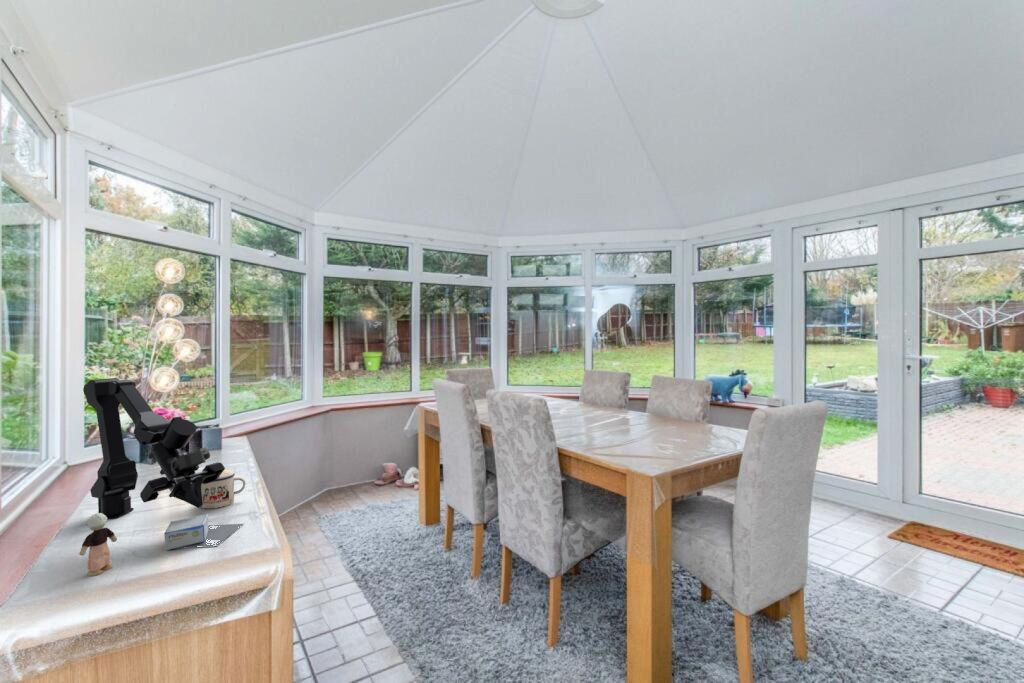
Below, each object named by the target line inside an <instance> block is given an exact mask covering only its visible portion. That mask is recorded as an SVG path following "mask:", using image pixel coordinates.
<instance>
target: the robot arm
mask: <svg viewBox="0 0 1024 683" xmlns="http://www.w3.org/2000/svg"><path fill="white" fill-rule="evenodd" d="M136 384H137V383H136V382H135V381H134V380H133V379H132V380H131V379H123V380H120V379H119V378H117V377H113V378H112V377H110V378H109V377H108V378H98V379H97V378H96V379H90V380H88V381H87V383H86V384H84V385H83V389H82V390H83V394H84V396H85V399H86V402H87V403H88V404H89V406H90V407H91V408H92V409H93V410H95V412H96V417H97V425H98V432H99V439H100V446H101V452H102V459H103V460H102V463H101V464H100V467H99V468H98V470H97V471H96V472H97V479H96V480H95V482H94V483H93V485H92V486H91V488H90V490H89V491H90V495H91V498H96V499H97V500H98V501H97V504H98V506H97V509H98V513H102V514H104V515H105V516H106V517H107V519H116V518H120V517H122V516H124V515H126V514H128V513H129V512H132V511H133V510H134V509H135V508H134V507H132V497H131V495H130V491H134V490H136V486H137V481H138V477H139V474H138V470H137V464H136V461H135V460H134V459H132V460H131V459H130V458H129V457H128V456H127V455H126V449H125V443H124V437H123V436H124V435H123V429H122V424H121V423H122V422H121V417H120V409H119V406H120V405H121V406H122V408H123V410H124V411H125V412H126V414H127V415H128V416H129V418H130V419H131V421H132V422H133V424H134V427H133V434H134V436H135V439H136V440H137V442H138V444H140V445H142V446H151V445H154V446H153V447H152V448H150V452H149V453H148V459H149V460H153V459H155V461H156V462H157V463H158V466H159V467H160V468H161V469H160V471H159V474H160V475H161V476H162V477H158V478H157V477H156V478H154V479H150V480H147V481H148V482H147V483H146V484H145V485H144V487H143V489H141V491H140V494H139V495H140V496H139V497H140V499H141V500H142V502H143V503H148V502H152V501H155V500H157V498H158V497H159V495H160V494H159V492H162V491H166V490H169V491H170V493H169V495H168V497H169V498H175V499H179V500H180V501H183V502H185V503H187V504H190V505H191V506H194V507H196V508H198V509H199V508H202V507H201V506H202V505H203V502H202V492H201V484H202V483H203V484H208V483H211V482H214V481H216V480H217V479H218V477H219V476H220V475H221V473H222V472H223V471H224V469H226V468H225V466H224V464H223V463H222V462H219V461H217V462H214V463H209V464H206V465H205V467H204V468H203V469H202V471H199V472H196V471H198V470H199V468H200V465H201V464H204V463H206V461H207V460H209V459H210V458H211V454H210V451H209V450H208V449H207V447H201V448H199V449H197V450H195V451H194V452H190V453H186V454H184V452H183V450H182V448H185V447H186V446H187V445H188V443H189V441H190V440H191V438H193V436H194V434H195V433H196V431H197V425H196V424H195V423H194V422H192V421H190V420H188V419H185V418H184V419H183V418H182V416H174V417H172V418H171V420H170V421H169V420H168V419H167V418H166V417H165V416H163V415H160V414H158V413H156V412H154V410H153V409H152V408H151V406H150V405H149V404H148V402H147V401H146V399H145V398H144V397H143V395H142V394H141V392H140V391H139V390H138V389H137V385H136ZM164 475H165V476H164Z"/></svg>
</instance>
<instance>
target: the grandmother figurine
mask: <svg viewBox="0 0 1024 683" xmlns="http://www.w3.org/2000/svg"><path fill="white" fill-rule="evenodd" d="M107 522H108V518H107V517H106V516H105V515H104V514H102V513H94V514H92V515H91V516H89V517H88V518H87V522H86V523H87V524H86V525H87V527H88V528H89V529H90V530H91V533H89V534H88V535H87V536H86V537H85V539H84V540H83V542H82V545H81V548H80V551H79V553H78V554H79V556H84V555H86V554H87V550H88V559H87V570H88V572H87V574H86V576H87V577H92V576H99V575H102V574H103V573H104V571H107V570H110V569H112V568H113V566H112V565H111V553H110V550H109V549H110V548H109V545H108V539H109V540H111V542H112V543H115V542H117V541H118V537H116V535H115V533H114V531H112V530H111V529H110V528H108V527H105V525H106V523H107ZM88 548H89V549H88Z"/></svg>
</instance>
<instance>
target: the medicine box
mask: <svg viewBox="0 0 1024 683" xmlns="http://www.w3.org/2000/svg"><path fill="white" fill-rule="evenodd" d="M208 515H209V514H207V513H206V514H202V515H195V516H192V517H191V516H190V517H186V518H183V519H178V520H174V521H173V520H172V521H170V522H169V524H168V527H166V529H165V531H164V534H163V535H164V544H165V550H166V551H168V550H169V551H170V550H173V549H179V548H178V547H183V546H187V545H192V544H196V543H200V542H204V541H205V539H206V536H207V533H208V530H209V528H208V525H209V517H208Z"/></svg>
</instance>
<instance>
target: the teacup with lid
mask: <svg viewBox="0 0 1024 683" xmlns="http://www.w3.org/2000/svg"><path fill="white" fill-rule="evenodd" d="M235 481H241V482H242V487H241V488H240V489H239V490H236V491H235ZM246 484H247V482H246V480H245V478H243V477H240V476H239V477H235V472H234V470H231V469H226V468H225V469H224V471H223V472H222V473H221V475H220V476H219V477H218V479H217V480H216V481H214V482H211V483H208V484H203V483H202V484H201V492H202V502H203V505H202V506H201V507H200V508H203V509H205V508H214V509H219V508H218V507H220V508H224V507H226V506H229V505H231V504H233V503H234V502H235V495H238V494H240V493H241V492H243V491H244V489H246ZM223 506H224V507H223Z"/></svg>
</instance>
